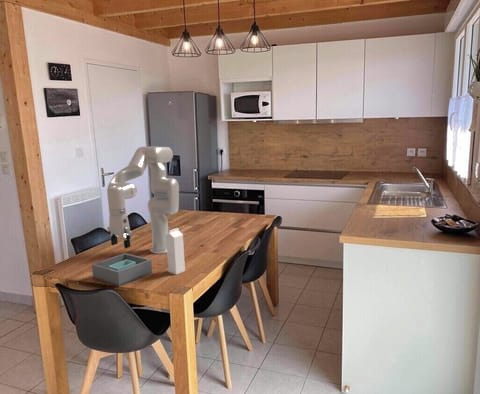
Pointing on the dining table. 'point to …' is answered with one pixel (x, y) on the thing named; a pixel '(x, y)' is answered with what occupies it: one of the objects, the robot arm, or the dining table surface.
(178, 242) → the milk
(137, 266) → the large crate
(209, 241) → the dining table surface
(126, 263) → the small crate
